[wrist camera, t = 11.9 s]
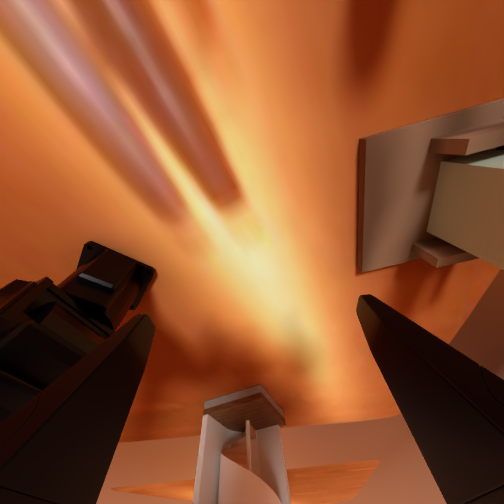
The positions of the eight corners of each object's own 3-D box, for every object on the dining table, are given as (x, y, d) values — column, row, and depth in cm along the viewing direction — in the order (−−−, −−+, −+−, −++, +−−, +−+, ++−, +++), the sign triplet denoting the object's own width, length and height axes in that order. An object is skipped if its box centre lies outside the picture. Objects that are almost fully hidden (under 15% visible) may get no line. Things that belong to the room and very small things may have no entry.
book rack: (357, 267, 23) (410, 325, 16) (359, 138, 16) (451, 140, 9) (473, 239, 22) (584, 287, 15) (524, 91, 15) (764, 54, 8)
